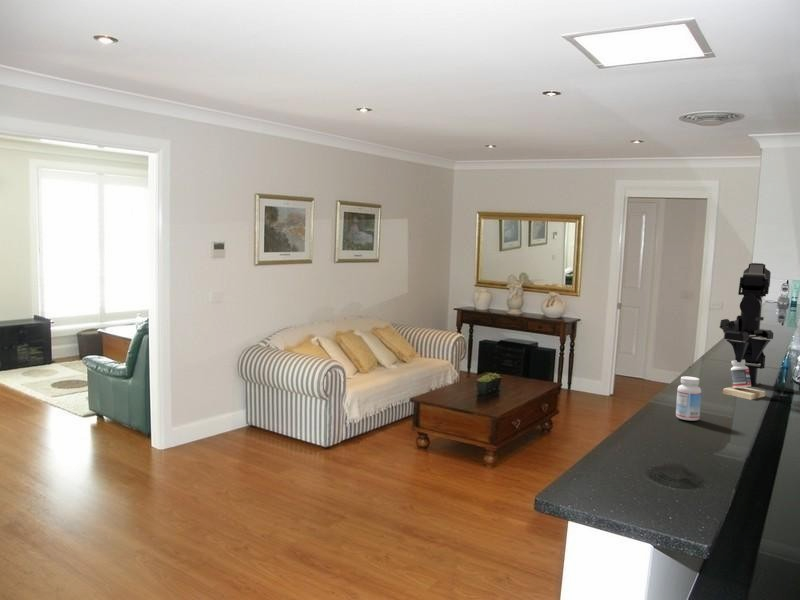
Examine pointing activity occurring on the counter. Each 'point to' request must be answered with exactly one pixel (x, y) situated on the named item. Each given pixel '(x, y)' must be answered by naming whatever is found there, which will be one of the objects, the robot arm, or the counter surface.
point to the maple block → (744, 392)
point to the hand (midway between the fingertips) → (746, 361)
